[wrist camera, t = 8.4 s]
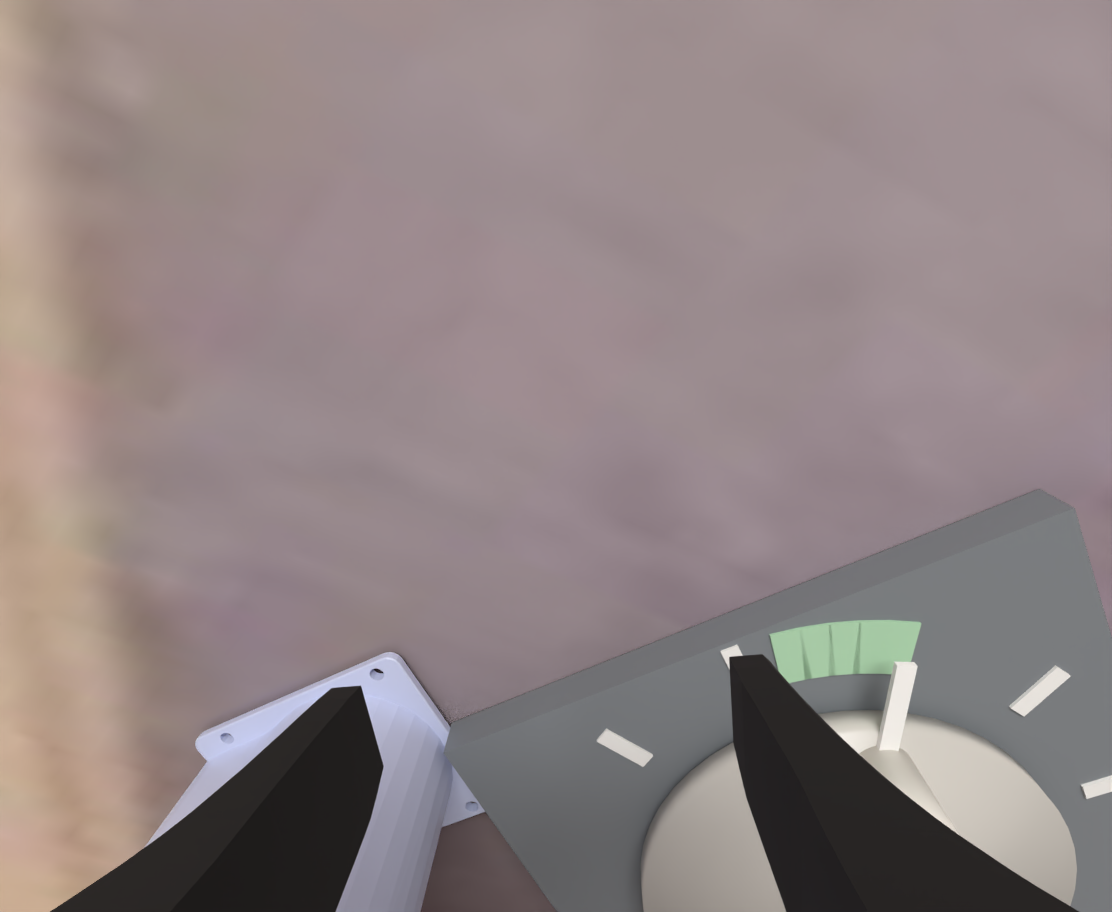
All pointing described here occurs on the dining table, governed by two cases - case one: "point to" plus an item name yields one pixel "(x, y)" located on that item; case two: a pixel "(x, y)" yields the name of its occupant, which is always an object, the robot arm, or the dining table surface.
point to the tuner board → (820, 696)
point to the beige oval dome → (900, 756)
